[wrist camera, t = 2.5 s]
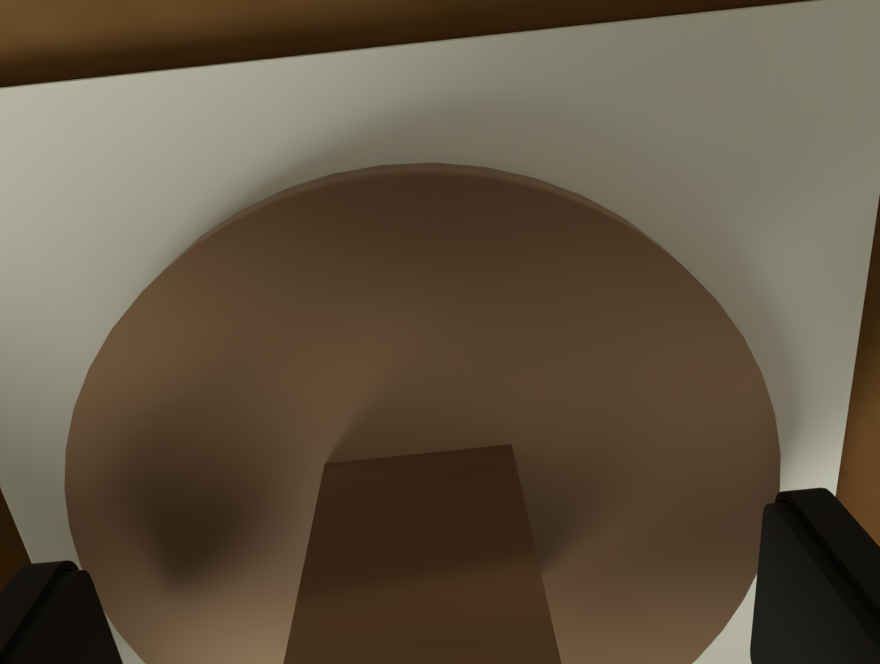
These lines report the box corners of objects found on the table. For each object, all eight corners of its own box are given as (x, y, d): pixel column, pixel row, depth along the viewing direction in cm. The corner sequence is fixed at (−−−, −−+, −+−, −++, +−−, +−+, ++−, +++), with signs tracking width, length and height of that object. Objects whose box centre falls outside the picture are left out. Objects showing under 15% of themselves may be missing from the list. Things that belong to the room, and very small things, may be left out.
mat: (-126, 101, 10) (-158, 105, 10) (882, -7, 10) (909, -9, 9) (139, 772, 16) (129, 800, 15) (786, 712, 15) (800, 737, 15)
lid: (-8, 208, 10) (-558, 450, 4) (779, 121, 10) (1265, 253, 4) (184, 746, 14) (34, 1217, 9) (733, 690, 14) (943, 1132, 9)
